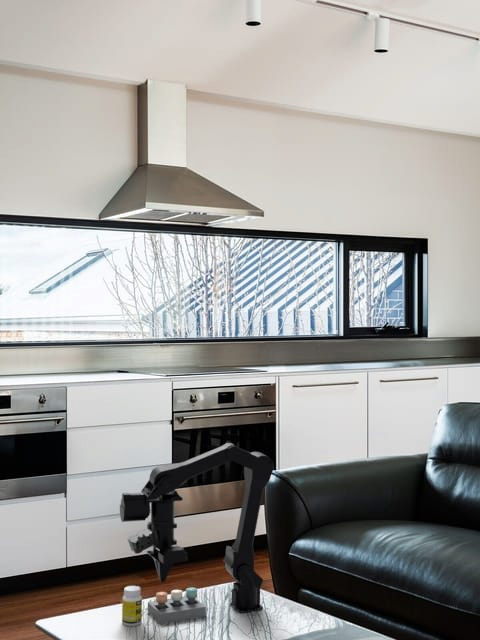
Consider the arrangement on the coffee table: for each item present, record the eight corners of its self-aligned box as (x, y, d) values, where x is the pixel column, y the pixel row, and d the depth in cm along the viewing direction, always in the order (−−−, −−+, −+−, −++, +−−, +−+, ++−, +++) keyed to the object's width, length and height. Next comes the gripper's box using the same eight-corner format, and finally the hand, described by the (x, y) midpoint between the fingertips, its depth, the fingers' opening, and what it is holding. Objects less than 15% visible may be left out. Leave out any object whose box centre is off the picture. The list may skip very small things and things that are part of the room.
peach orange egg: (164, 607, 214) (165, 591, 214) (168, 610, 212) (169, 594, 212) (154, 608, 213) (154, 592, 213) (158, 612, 210) (158, 596, 210)
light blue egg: (194, 602, 218) (194, 586, 218) (198, 606, 215) (198, 590, 215) (184, 604, 216) (184, 588, 216) (188, 607, 214) (188, 591, 214)
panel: (191, 604, 221) (191, 595, 221) (205, 616, 213) (205, 606, 213) (147, 611, 215) (147, 601, 215) (160, 623, 207) (160, 613, 207)
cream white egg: (179, 604, 216) (179, 589, 216) (183, 608, 213) (184, 592, 213) (169, 606, 215) (169, 590, 215) (173, 610, 212) (173, 594, 212)
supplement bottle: (138, 627, 205) (138, 592, 205) (119, 625, 206) (119, 590, 206) (144, 619, 210) (144, 585, 210) (125, 618, 211) (126, 584, 211)
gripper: (119, 513, 217) (119, 574, 217) (144, 531, 200) (143, 598, 200) (161, 509, 222) (160, 569, 222) (188, 526, 205) (188, 591, 205)
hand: (162, 581), depth 212 cm, fingers closed
